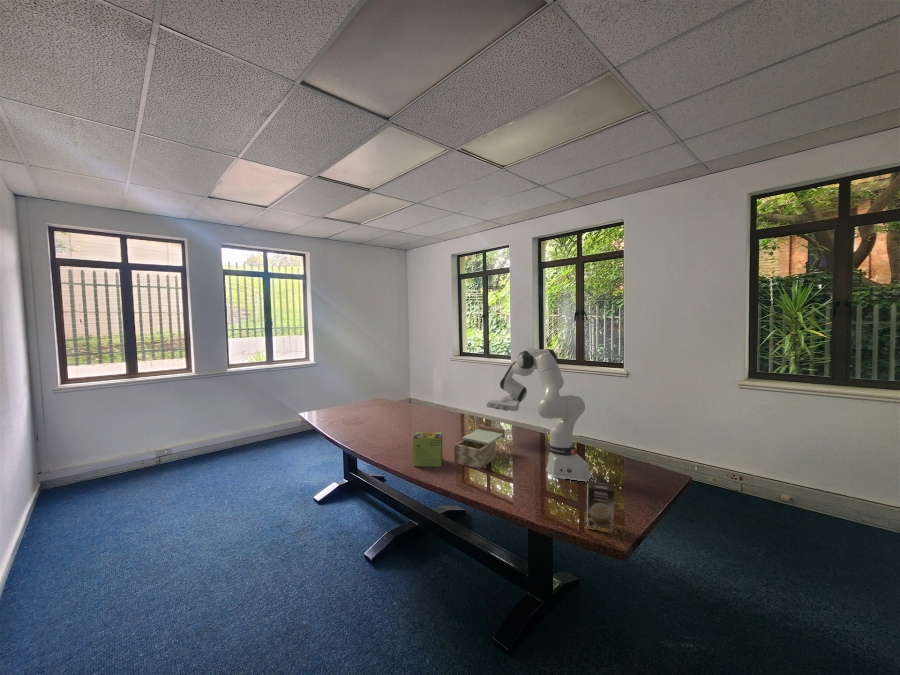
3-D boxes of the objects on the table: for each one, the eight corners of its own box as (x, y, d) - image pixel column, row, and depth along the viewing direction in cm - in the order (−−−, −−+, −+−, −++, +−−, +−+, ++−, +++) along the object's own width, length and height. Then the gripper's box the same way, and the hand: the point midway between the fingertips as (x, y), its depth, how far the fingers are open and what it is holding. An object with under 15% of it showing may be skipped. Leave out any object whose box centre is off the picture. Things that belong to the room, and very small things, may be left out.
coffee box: (586, 530, 133) (587, 487, 132) (586, 520, 139) (586, 480, 138) (613, 534, 130) (614, 491, 129) (612, 525, 136) (612, 483, 135)
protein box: (441, 466, 191) (441, 438, 190) (412, 466, 191) (412, 437, 190) (442, 459, 201) (442, 431, 200) (415, 459, 202) (415, 431, 201)
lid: (504, 436, 211) (504, 429, 211) (488, 447, 194) (488, 439, 194) (479, 432, 220) (479, 425, 220) (462, 441, 203) (462, 433, 203)
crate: (495, 458, 202) (495, 440, 202) (480, 469, 187) (480, 450, 187) (471, 452, 211) (471, 435, 211) (454, 462, 196) (454, 444, 196)
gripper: (492, 397, 238) (482, 400, 226) (521, 400, 226) (512, 405, 215) (492, 406, 238) (482, 410, 227) (521, 410, 227) (512, 415, 215)
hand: (497, 408), depth 221 cm, fingers closed
